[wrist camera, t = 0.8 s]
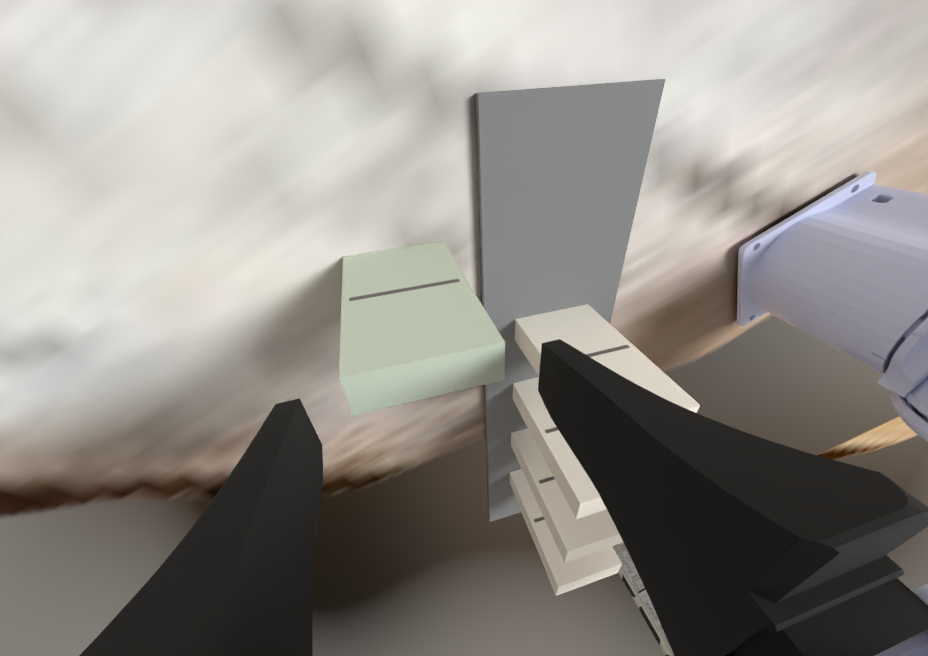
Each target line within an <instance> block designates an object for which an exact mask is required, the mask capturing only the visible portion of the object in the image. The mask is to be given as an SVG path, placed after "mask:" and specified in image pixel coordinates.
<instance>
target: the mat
mask: <svg viewBox="0 0 928 656" xmlns="http://www.w3.org/2000/svg"><path fill="white" fill-rule="evenodd" d="M664 82H665V79H658V80H645V81H632V82H619V83H605V84H592V85H579V86H566V87H553V88H540V89H526V90H513V91H500V92H487V93H476V122H477V155H478V188H479V221H480V254H481V287H482V306H483V307H484V309H485V310H486V312H487V314H488V315H489V317H490V319H491V320H492V322H493V323H494V325H495V327H496V328H497V330H498V331H499V333H500V335H501V336H502V338H503V340H504V341H505V380H502V381H498V382H494V383H489V384H485V385H484V387H485V420H486V449H487V451H486V452H487V486H488V518H489V521H490V522H491V521H494V520H497V519H501V518H504V517H507V516H510V515H513V514H516V513H519V512H521V509H520V507H519V504H518V502H517V499H516V497H515V494H514V492H513V490H512V487H511V485H510V472H513V471H516V470H519V469H521V466H520V464H519V462H518V460H517V458H516V455H515V453H514V451H513V449H512V447H511V433H513V432H516V431H520V430H524V429H527V428H528V427H527V425H526V424H525V422H524V420H523V418H522V416H521V414H520V412H519V410H518V408H517V407H516V405H515V403H514V401H513V383H516V382H521V381H525V380H529V379H533V378H537V377H539V376H538V374H537V373H536V371H535V370H534V368H533V367H532V365H531V364H530V362H529V361H528V359H527V358H526V356H525V355H524V353H523V352H522V350H521V349H520V347H519V346H518V344H517V343H516V341H515V319H519V318H523V317H528V316H533V315H538V314H543V313H548V312H553V311H557V310H562V309H567V308H572V307H577V306H582V305H587V304H588V305H589V306H590V307H592V308H593V309H594V310H595V311H596V312H597V313H598V314H599V315H600V316H602V317H603V318H604V319H605V320H606V321H607V322H608V323H609V324H610V320H611V316H612V311H613V307H614V302H615V298H616V294H617V289H618V285H619V280H620V276H621V272H622V267H623V263H624V258H625V254H626V250H627V245H628V241H629V236H630V232H631V228H632V223H633V219H634V214H635V210H636V206H637V201H638V197H639V192H640V188H641V184H642V179H643V175H644V170H645V166H646V162H647V157H648V153H649V148H650V144H651V140H652V135H653V131H654V126H655V122H656V118H657V113H658V109H659V104H660V100H661V96H662V91H663V87H664Z"/></svg>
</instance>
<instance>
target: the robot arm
mask: <svg viewBox="0 0 928 656" xmlns="http://www.w3.org/2000/svg"><path fill="white" fill-rule="evenodd" d="M875 179H876V172H872V171H866V172H864V173H862V174H861V175H859V176H857V177H856V178H854V179H852V180H851V181H849V182H847V183H846V184H844V185H842V186H841V187H839V188H837V189H836V190H834V191H832V192H830V193H829V194H827V195H825V196H824V197H822V198H820V199H819V200H817V201H815V202H814V203H812V204H810V205H809V206H807V207H805V208H804V209H802V210H800V211H798V212H797V213H795V214H793V215H792V216H790V217H788V218H787V219H785V220H783V221H782V222H780V223H778V224H777V225H775V226H773V227H772V228H770V229H768V230H766V231H765V232H763V233H761V234H760V235H758V236H756V237H755V238H753V239H751V240H750V241H748V242H746V243H745V244H743V245H742V246H741V247H740V249H739V252H738V291H737V323H738V324H739V325H741V326H745V325H747V324H748V323H750V322H752V321H754V320H755V319H757V318H759V317H761V316H762V315H764V314H766V313H768V312H769V313H770V314H772V315H774V316H776V317H778V318H780V319H782V320H784V321H785V322H787V323H789V324H791V325H793V326H795V327H797V328H799V329H801V330H802V331H804V332H806V333H808V334H810V335H812V336H814V337H815V338H817V339H819V340H821V341H823V342H825V343H827V344H829V345H830V346H832V347H834V348H836V349H838V350H840V351H842V352H844V353H846V354H848V355H849V356H851V357H853V358H855V359H857V360H859V361H861V362H862V363H864V364H866V365H868V366H870V367H872V368H874V369H876V370H877V371H880V372H881V373H883V374H884V375H883V376H882V378H881V379H880V380H879V381H878V384H880V385H881V386H883V387H885V388H887V389H889V390H890V391H892V392H894V394H893V395H892V397H891V402H892V404H893V406H894V408H895V409H896V411H897V412H898V414H899V415H900V417H901V419H902V420H903V421H904V422H905V423H906V424H907V425H908V426H909V427H910V428H911V429H912V430H913V431H914V432H915V433H917V434H918V435H919V436H921V437H922V438H923V439H925V440H926V441H928V194H924V193H918V192H913V191H907V190H902V189H896V188H891V187H885V186H880V185H874V182H875ZM538 391H539V394H540V396H541V398H542V400H543V402H544V405H545V407H546V409H547V411H548V413H549V415H550V417H551V419H552V420H553V422H554V423H555V425H556V427H557V428H558V430H559V431H560V433H561V435H562V436H563V438H564V439H565V441H566V442H567V444H568V445H569V447H570V449H571V450H572V452H573V453H574V455H575V456H576V458H577V459H578V461H579V462H580V464H581V466H582V467H583V469H584V470H585V472H586V473H587V475H588V476H589V478H590V480H591V481H592V483H593V485H594V486H595V488H596V490H597V491H598V493H599V495H600V497H601V499H602V501H603V503H604V505H605V507H606V509H607V510H608V512H609V514H610V516H611V518H612V520H613V522H614V524H615V526H616V528H617V530H618V532H619V534H620V536H621V538H622V540H623V542H624V544H625V546H626V548H627V550H628V553H629V555H630V557H631V559H632V561H633V563H634V565H635V567H636V570H637V572H638V574H639V576H640V578H641V580H642V583H643V585H644V587H645V589H646V591H647V593H648V596H649V598H650V600H651V602H652V605H653V607H654V609H655V612H656V614H657V616H658V619H659V621H660V623H661V626H662V628H663V630H664V633H665V635H666V637H667V640H668V642H669V644H670V647H671V649H672V652H673V654H674V656H928V584H926V585H924V586H922V587H920V588H918V589H916V590H914V591H911V590H910V589H909V588H908V587H906V586H905V585H904V584H903V583H902V582H900V581H899V579H897V577H900V576H901V575H903V574H904V572H903V570H902V568H900V567H899V566H898V565H897V564H896V563H895V562H893V561H892V560H891V559H890V558H889V557H888V556H886V554H888V553H889V552H891V551H892V550H894V549H895V548H897V547H898V546H900V545H901V544H903V543H904V542H906V541H907V540H909V539H910V538H911V537H913V536H915V535H916V534H917V533H919V532H920V531H922V530H923V529H924V528H926V527H927V526H928V507H927V506H926V505H924V504H923V503H921V502H920V501H919V500H917V499H916V498H915V497H913V496H912V495H911V494H909V493H908V492H906V491H905V490H904V489H902V488H901V487H900V486H898V485H897V484H896V483H894V482H893V481H891V480H890V479H889V478H887V477H886V476H885V475H883V474H881V473H879V472H876V471H872V470H868V469H864V468H861V467H857V466H853V465H849V464H846V463H842V462H839V461H835V460H831V459H827V458H824V457H820V456H816V455H813V454H810V453H806V452H803V451H800V450H797V449H793V448H790V447H787V446H784V445H781V444H778V443H774V442H771V441H768V440H766V439H763V438H760V437H756V436H754V435H751V434H748V433H745V432H743V431H740V430H738V429H735V428H732V427H729V426H727V425H724V424H722V423H719V422H716V421H714V420H712V419H709V418H706V417H704V416H702V415H699V414H697V413H695V412H693V411H690V410H688V409H686V408H684V407H681V406H679V405H677V404H675V403H673V402H671V401H668V400H666V399H664V398H662V397H660V396H658V395H656V394H654V393H652V392H651V391H649V390H647V389H645V388H643V387H641V386H639V385H637V384H635V383H633V382H632V381H630V380H628V379H626V378H624V377H623V376H621V375H619V374H617V373H616V372H614V371H612V370H611V369H609V368H607V367H605V366H604V365H602V364H600V363H599V362H597V361H595V360H594V359H592V358H591V357H589V356H587V355H586V354H584V353H582V352H581V351H579V350H577V349H576V348H574V347H572V346H571V345H569V344H567V343H566V342H564V341H562V340H560V339H558V340H554V341H549V342H545V343H542V347H541V359H540V371H539V382H538ZM322 484H323V458H322V444H321V442H320V440H319V438H318V436H317V433H316V431H315V429H314V427H313V425H312V423H311V421H310V419H309V417H308V415H307V413H306V411H305V409H304V407H303V405H302V403H301V400H300V399H296V400H292V401H287V402H283V403H279V404H276V405H275V406H274V408H273V409H272V411H271V412H270V414H269V415H268V417H267V419H266V420H265V422H264V423H263V425H262V427H261V428H260V430H259V431H258V433H257V435H256V436H255V438H254V439H253V441H252V442H251V444H250V446H249V447H248V449H247V450H246V452H245V453H244V455H243V456H242V458H241V459H240V461H239V462H238V464H237V465H236V467H235V468H234V470H233V471H232V473H231V474H230V476H229V477H228V479H227V480H226V482H225V483H224V485H223V486H222V487H221V489H220V490H219V491H218V493H217V494H216V496H215V497H214V498H213V500H212V501H211V503H210V504H209V505H208V507H207V508H206V509H205V511H204V512H203V514H202V515H201V516H200V518H199V519H198V520H197V522H196V523H195V524H194V526H193V527H192V528H191V529H190V531H189V532H188V533H187V535H186V536H185V537H184V538H183V540H182V541H181V542H180V543H179V545H178V546H177V547H176V549H175V550H174V551H173V552H172V553H171V555H170V556H169V557H168V558H167V559H166V561H165V562H164V563H163V564H162V565H161V567H160V568H159V569H158V570H157V571H156V573H155V574H154V575H153V576H152V577H151V578H150V580H149V581H148V582H147V583H146V584H145V585H144V586H143V587H142V588H141V590H140V591H139V592H138V593H137V594H136V595H135V596H134V597H133V598H132V600H131V601H130V602H129V603H128V604H127V605H126V606H125V607H124V608H123V609H122V610H121V612H120V613H119V614H118V615H117V616H116V617H115V618H114V619H113V620H112V622H111V623H110V624H109V625H108V626H107V627H106V628H105V629H104V631H102V632H101V634H100V635H99V636H98V637H97V638H96V639H95V640H94V641H93V642H92V643H91V644H90V645H89V646H88V647H87V648H86V649H85V650H84V651H83V652H82V654H81V655H80V656H312V602H313V601H312V600H313V599H312V598H313V573H314V561H315V551H316V542H317V533H318V523H319V514H320V504H321V494H322Z"/></svg>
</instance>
